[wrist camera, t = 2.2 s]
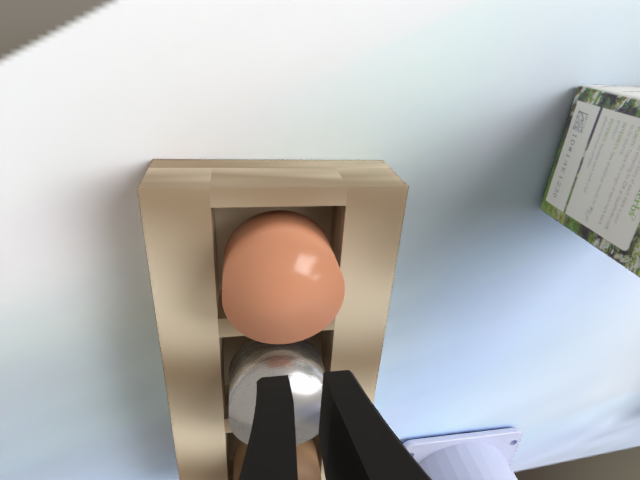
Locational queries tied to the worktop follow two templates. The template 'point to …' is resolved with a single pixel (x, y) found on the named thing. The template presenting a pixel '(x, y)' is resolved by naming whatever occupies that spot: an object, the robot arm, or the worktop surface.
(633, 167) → the syrup box
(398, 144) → the worktop surface
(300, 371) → the steel button
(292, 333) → the terracotta button
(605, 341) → the worktop surface
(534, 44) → the worktop surface
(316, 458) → the walnut button
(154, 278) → the light wooden flat frame
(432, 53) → the worktop surface
